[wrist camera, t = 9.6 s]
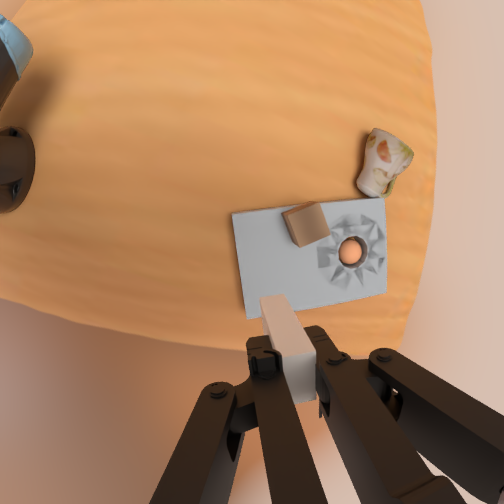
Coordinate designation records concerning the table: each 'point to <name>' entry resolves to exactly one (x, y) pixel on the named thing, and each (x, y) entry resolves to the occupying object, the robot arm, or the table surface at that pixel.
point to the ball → (349, 251)
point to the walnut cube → (306, 223)
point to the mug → (382, 163)
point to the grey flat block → (311, 256)
